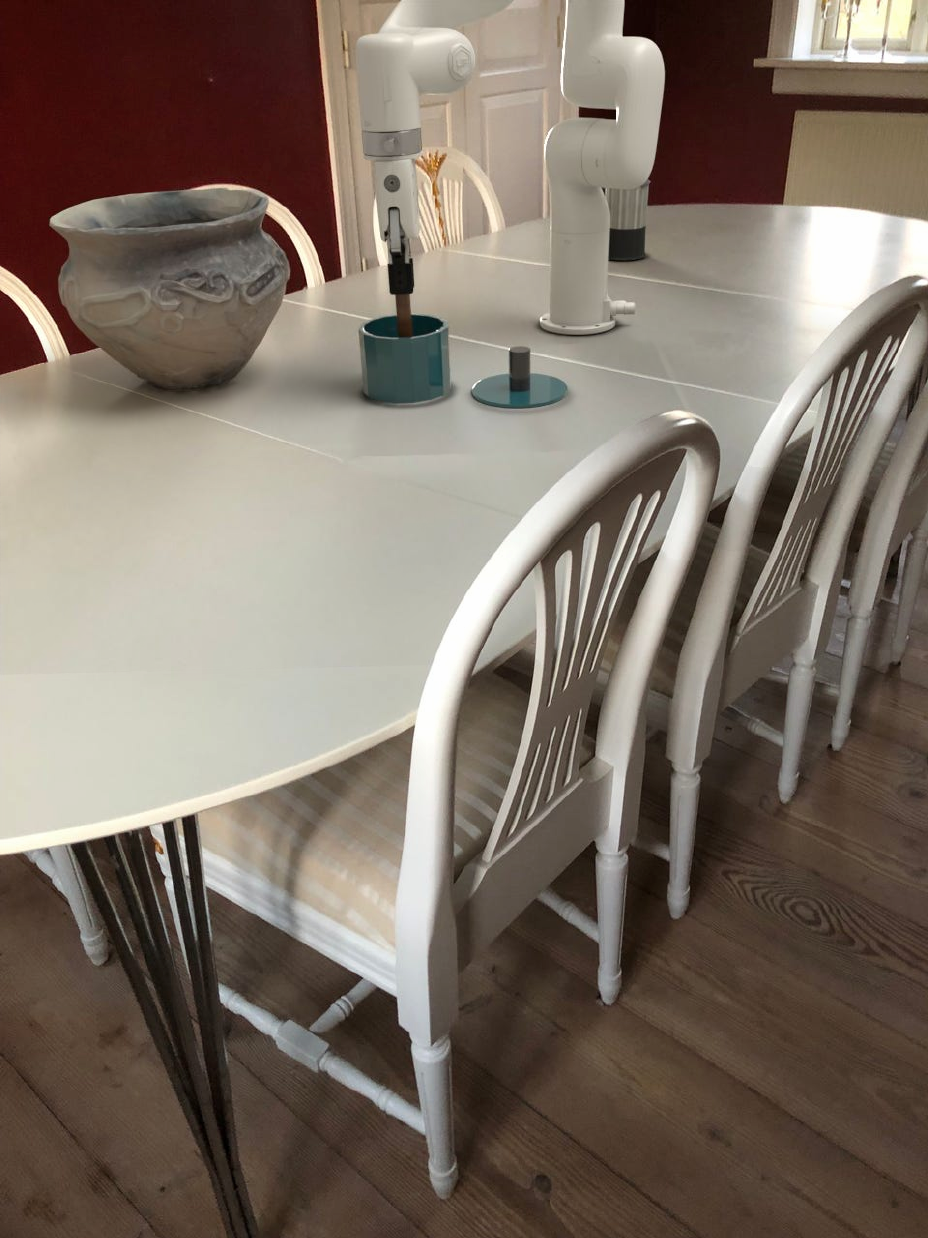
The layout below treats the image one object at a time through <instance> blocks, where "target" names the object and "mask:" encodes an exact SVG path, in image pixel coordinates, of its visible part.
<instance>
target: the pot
mask: <svg viewBox="0 0 928 1238" xmlns="http://www.w3.org/2000/svg"><path fill="white" fill-rule="evenodd" d="M411 321H412V337H400V338H398V327H397V313H395V314H388V315H381V316H378V317H374V318H371V319H368V320H366V321H364V322H363V323H361V324H359V327H358V342H359V343H358V344H359V354H360V364H361V376H362V387H363V393H364V394H365V396H367V397H368V398H369V399H372V400H375V401H378V402H383V403H390V404H391V403H392V404H415V403H420V402H421V403H422V402H426V401H427V402H428V401H432V400H435V399H437V398H440V397H443V396H445V395H446V394H447V393H449V392H450V391H451V389H452V388H451V387H452V381H451V380H452V376H451V358H450V357H451V354H450V331H449V329H450V327H449V321H447V320H446V319H444V318H443V317H440V316H436V315H432V314H424V313H411Z"/></svg>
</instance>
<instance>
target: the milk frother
mask: <svg viewBox="0 0 928 1238" xmlns="http://www.w3.org/2000/svg"><path fill="white" fill-rule="evenodd" d="M650 183H651V180H649V179H647V180H646V182H645V183H644V184H643V185H641V186H640V187H638V188H635V189H630V190H623V189H613V188H603V187H601V188H602V190H603V193H604V195H605V197H606V200H607V203H608V206H609V211H610V229H609V255H608V260H612V261H623V262H624V261H635V260H640V259H644V258H645V257H646V255H647V254H646V228H647V225H646V224H647V216H648V202H649V186H650Z"/></svg>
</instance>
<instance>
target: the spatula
mask: <svg viewBox="0 0 928 1238" xmlns="http://www.w3.org/2000/svg"><path fill="white" fill-rule="evenodd" d="M394 296H395V297H394V298H395V311H396V312H395V314H397V327H398V338H400V337H412V321H411V314H412V308H411V307H412V306H411V294H401V295H394Z"/></svg>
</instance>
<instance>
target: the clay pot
mask: <svg viewBox="0 0 928 1238" xmlns="http://www.w3.org/2000/svg"><path fill="white" fill-rule="evenodd" d="M269 205H270V200H269V197H268V196H267V194H265V193H264V192H262V191H260V190H258V189H251V188H247V189H244V188H243V189H230V188H228V187H212V188H205V189H183V190H182V189H181V190H169V191H168V190H167V191H152V192H142V193H129V194H122V195H117V196H110V197H103V198H96V199H92V200H91V199H90V200H88V201H85V202H81V203H80V204H76V205H73V206H71V207H68V208H66V209H63V210H61V211H59V212H58V213H56V214H55V215H53V216H51V218H50V219H49V227H51V228H52V229H53V230H54V231H55V232H57V233H58V234H59V235H60V236H61V237H62V238H64V239H65V240H66V241H67V244H68V245H67V246H68V248H69V249H68V250H69V253H68V257H67V260H66V261H64V263H63V264H62V266H61V268H60V273H59V275H58V294H59V298H60V301H61V304H62V306H64V308H66V311H67V313H68V315H69V317H70V319H71V321H72V322H73V323H74V325H75V326H76V327H77V328H78V329H79V330H80V331H81V332H82V333H83V334H84V335H85V336H86V338H88V339H89V340H90V341H91V342H92V343H93V344H94V345H96V346H97V347H98V348H99V349H101V350H102V351H103V352H105V354H107V355H108V356H110V357H111V358H112V359H114V360H115V361H117V363H119V364H120V365H121V366H122V367H124V368H125V369H127V370H128V371H129V372H131V373H132V374H133V375H134V376H136V377H137V378H139V379H140V380H145V381H146V383H147V384H148V385H150V386H151V387H153V388H154V389H157V390H159V391H166V392H190V391H199V390H206V389H209V388H212V387H219V386H220V387H221V386H222V385H223V384H226V383H228V382H230V381H231V380H233V379H235V377H236V376H238V375H239V373H240V372H241V371H242V370H243V369H244V368H245V367H246V365H247V364H248V363H249V362H250V360H251V359H252V357H253V356H254V354H255V352H256V351H257V349H258V347H259V346H260V345H261V343H262V341H263V340H264V337H265V336H266V335H267V334H266V333H267V332H268V330H269V327H270V326H271V324H272V322H273V320H274V319H275V317H276V315H277V313H278V311H279V310H280V308H281V306H282V303H283V300H284V297H285V295H286V290H287V283H288V281H289V280H290V278H291V277H290V276H291V267H290V263H289V262H290V261H289V260H288V258H287V255H286V252H285V251H284V250H283V249H282V248H281V246H279V244H278V242H276V241H275V239H274V238H273V237H272V235H270V234H269V233H267V232H265V231H264V229H263V228H262V223H263V220H264V218H265V214H266V213H267V211H268V207H269Z"/></svg>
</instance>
